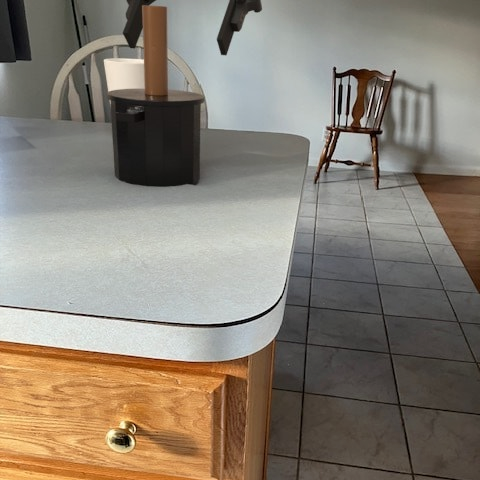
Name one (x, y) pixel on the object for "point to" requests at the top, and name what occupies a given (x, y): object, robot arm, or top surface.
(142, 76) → the cup
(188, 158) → the pot
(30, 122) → the top surface
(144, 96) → the lid
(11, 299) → the top surface
